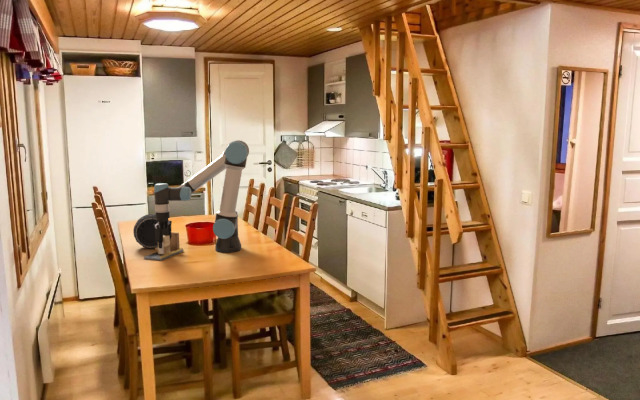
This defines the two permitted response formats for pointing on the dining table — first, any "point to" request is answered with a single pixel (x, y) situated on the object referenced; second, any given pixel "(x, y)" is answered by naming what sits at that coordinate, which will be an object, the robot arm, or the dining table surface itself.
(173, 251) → the grey board with posts
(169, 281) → the dining table surface
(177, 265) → the dining table surface
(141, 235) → the dark studded bowl
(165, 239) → the block
